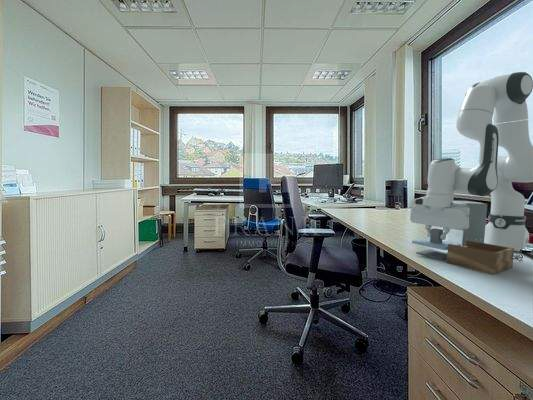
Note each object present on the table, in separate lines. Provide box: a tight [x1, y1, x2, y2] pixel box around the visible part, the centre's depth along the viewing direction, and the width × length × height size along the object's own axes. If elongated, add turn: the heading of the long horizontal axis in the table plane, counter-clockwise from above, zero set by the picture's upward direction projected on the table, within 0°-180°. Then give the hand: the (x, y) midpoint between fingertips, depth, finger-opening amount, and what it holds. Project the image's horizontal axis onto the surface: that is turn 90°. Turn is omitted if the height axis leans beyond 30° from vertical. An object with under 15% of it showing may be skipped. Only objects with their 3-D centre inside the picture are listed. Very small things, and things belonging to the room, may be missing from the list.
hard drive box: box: [446, 200, 488, 246], centre depth 121 cm, size 16×8×20 cm, turn 168°
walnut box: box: [446, 240, 515, 275], centre depth 101 cm, size 14×14×6 cm
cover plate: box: [411, 228, 461, 251], centre depth 113 cm, size 11×12×6 cm
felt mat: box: [415, 248, 447, 261], centre depth 114 cm, size 10×10×1 cm
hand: (436, 238), depth 113 cm, fingers closed on cover plate, 3 cm apart
